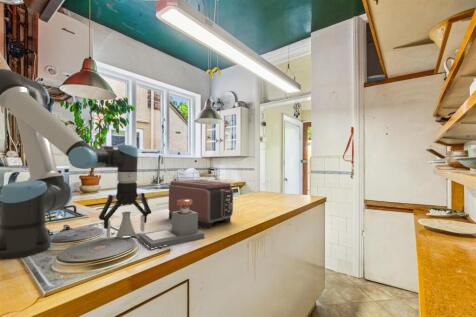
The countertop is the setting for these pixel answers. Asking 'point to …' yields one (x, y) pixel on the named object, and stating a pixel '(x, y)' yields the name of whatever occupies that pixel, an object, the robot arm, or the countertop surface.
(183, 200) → the copper ovoid
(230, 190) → the toaster
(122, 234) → the flask
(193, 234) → the press
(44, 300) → the countertop surface
